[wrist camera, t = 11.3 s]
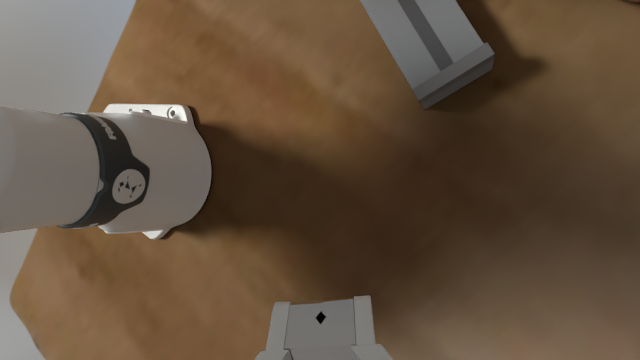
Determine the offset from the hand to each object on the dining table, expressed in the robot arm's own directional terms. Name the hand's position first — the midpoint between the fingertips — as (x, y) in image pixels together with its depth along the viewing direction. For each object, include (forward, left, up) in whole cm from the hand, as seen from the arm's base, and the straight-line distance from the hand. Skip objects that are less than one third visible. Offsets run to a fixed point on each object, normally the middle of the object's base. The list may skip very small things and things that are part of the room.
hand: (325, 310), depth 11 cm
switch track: (-8, +20, -27) cm, 35 cm away
